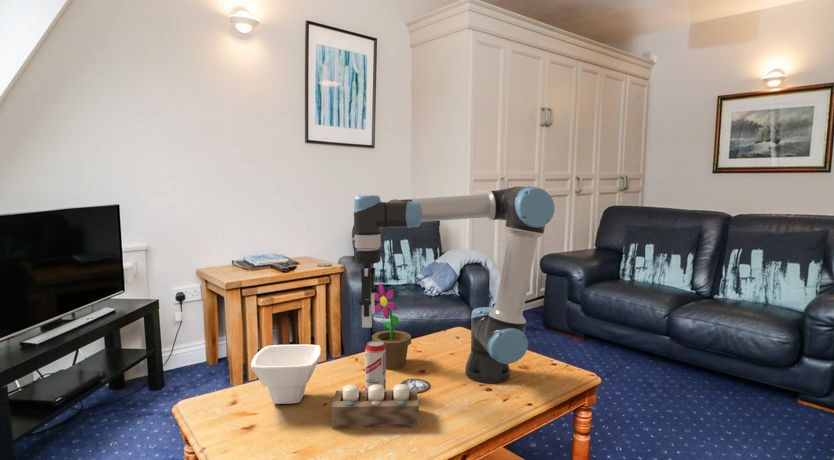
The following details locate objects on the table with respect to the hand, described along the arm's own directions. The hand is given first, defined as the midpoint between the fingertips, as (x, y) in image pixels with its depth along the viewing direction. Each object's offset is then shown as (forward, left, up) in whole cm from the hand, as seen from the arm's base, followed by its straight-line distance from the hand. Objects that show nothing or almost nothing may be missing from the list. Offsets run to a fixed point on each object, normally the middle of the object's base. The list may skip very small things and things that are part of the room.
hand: (368, 320), depth 141 cm
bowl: (+24, -1, -25) cm, 35 cm away
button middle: (-3, +10, -21) cm, 24 cm away
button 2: (-10, +10, -21) cm, 25 cm away
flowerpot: (-7, -29, -25) cm, 39 cm away
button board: (-3, +11, -25) cm, 27 cm away
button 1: (+4, +10, -21) cm, 24 cm away
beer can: (-2, -5, -25) cm, 25 cm away
